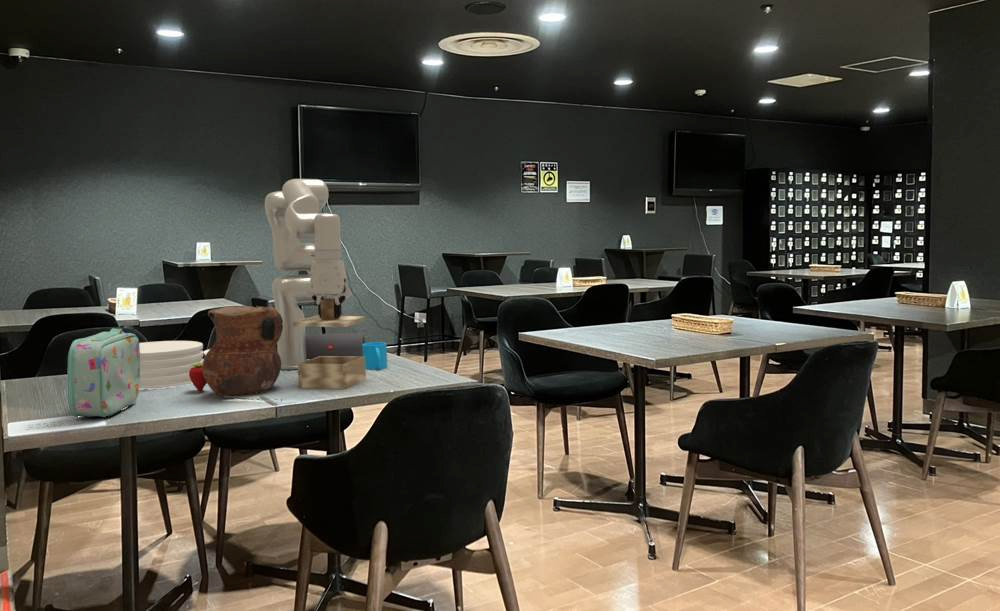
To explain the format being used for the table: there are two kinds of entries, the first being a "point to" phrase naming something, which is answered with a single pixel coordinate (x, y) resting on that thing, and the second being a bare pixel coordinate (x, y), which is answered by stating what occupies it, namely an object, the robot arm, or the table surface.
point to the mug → (375, 355)
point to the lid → (329, 317)
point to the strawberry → (197, 376)
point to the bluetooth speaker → (334, 345)
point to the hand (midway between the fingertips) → (330, 317)
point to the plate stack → (168, 362)
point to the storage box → (331, 372)
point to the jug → (243, 351)
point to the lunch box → (103, 373)
